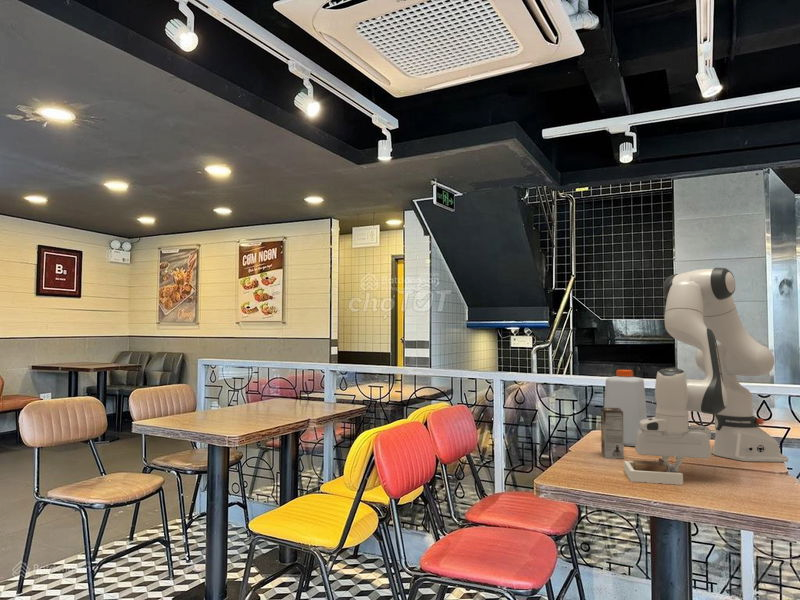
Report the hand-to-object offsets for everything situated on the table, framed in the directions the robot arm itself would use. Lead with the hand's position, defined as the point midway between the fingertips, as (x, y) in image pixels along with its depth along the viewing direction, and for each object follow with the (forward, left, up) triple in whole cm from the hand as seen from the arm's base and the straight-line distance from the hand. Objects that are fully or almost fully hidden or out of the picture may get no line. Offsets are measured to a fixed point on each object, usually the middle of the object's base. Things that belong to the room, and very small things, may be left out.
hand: (672, 471), depth 167 cm
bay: (+5, 0, -2) cm, 6 cm away
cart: (+6, 0, -2) cm, 7 cm away
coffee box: (+13, -28, -2) cm, 31 cm away
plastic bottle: (+5, -54, -2) cm, 54 cm away
